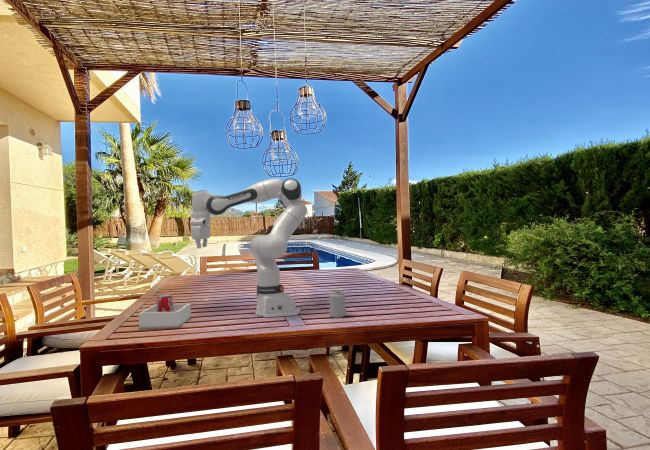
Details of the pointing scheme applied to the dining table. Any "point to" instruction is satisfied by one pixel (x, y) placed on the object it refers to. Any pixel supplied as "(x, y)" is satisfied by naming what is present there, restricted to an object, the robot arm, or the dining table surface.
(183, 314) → the bin
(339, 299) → the can
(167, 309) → the soda can
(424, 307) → the dining table surface
